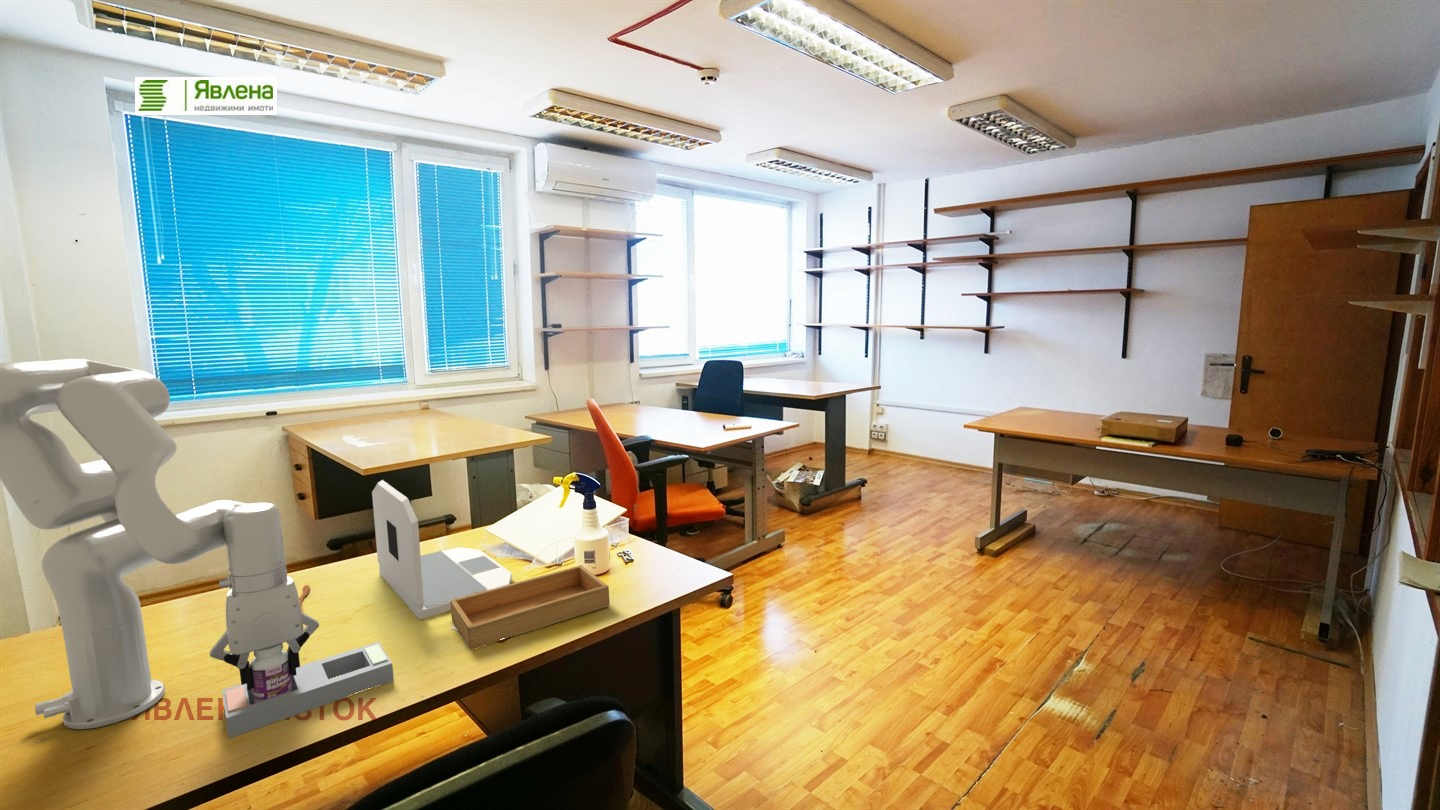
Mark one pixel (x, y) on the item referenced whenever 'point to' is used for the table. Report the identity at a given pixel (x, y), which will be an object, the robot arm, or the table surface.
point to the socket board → (309, 688)
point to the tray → (527, 605)
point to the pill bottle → (270, 673)
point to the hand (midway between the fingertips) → (271, 678)
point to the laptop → (426, 560)
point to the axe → (304, 594)
